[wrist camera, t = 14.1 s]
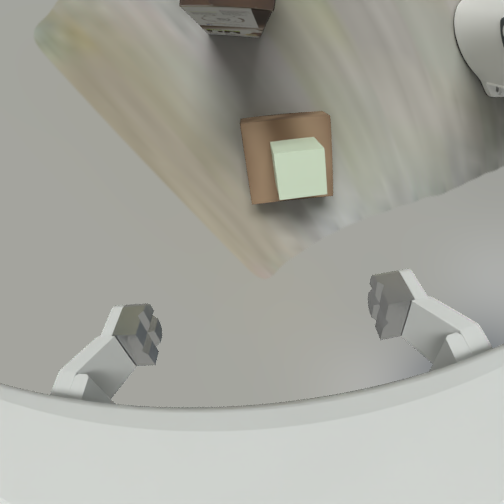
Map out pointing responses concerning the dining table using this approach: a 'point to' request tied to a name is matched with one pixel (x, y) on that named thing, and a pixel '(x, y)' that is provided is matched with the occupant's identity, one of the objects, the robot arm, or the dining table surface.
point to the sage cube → (299, 168)
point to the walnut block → (276, 129)
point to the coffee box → (230, 15)
